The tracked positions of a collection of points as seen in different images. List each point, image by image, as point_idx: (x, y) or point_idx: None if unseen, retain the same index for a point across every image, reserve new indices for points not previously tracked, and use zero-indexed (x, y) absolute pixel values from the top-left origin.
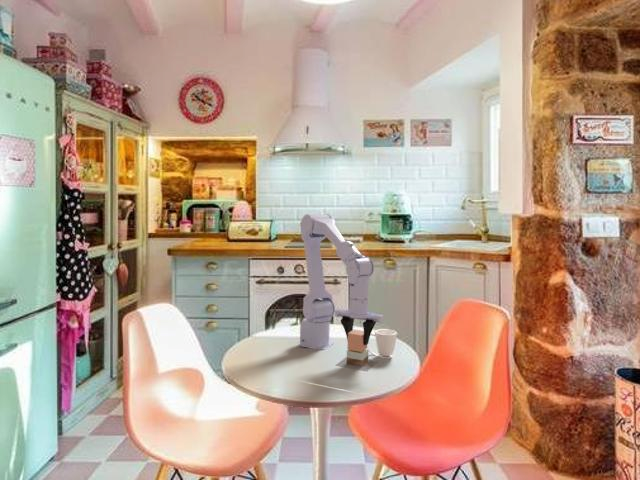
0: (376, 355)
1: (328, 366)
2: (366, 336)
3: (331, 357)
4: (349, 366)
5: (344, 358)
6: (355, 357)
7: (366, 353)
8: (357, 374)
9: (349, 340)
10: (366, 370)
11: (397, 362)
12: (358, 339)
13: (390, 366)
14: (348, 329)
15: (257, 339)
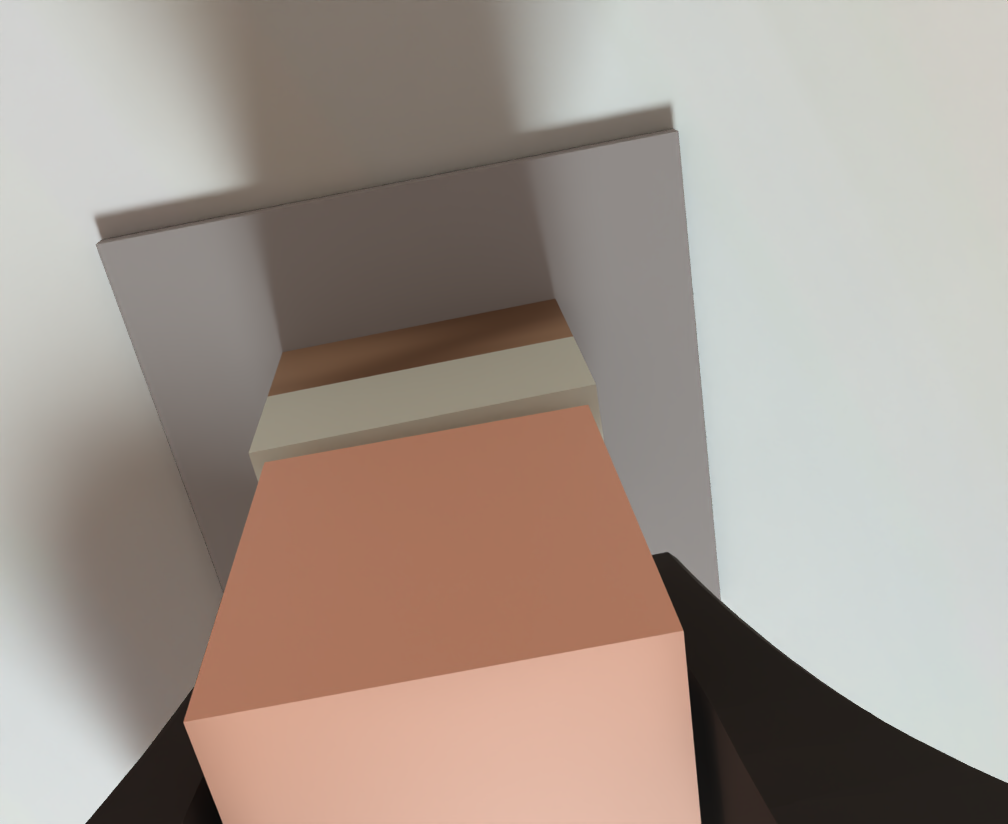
0: None
1: (768, 44)
2: (125, 788)
3: (911, 418)
4: (453, 236)
5: (707, 475)
6: (401, 383)
7: None
8: (150, 40)
9: (583, 518)
10: (124, 262)
11: (63, 808)
12: (318, 605)
13: (24, 649)
14: (738, 763)
15: None
